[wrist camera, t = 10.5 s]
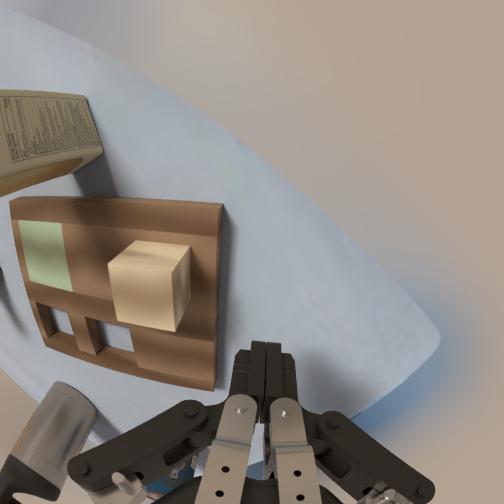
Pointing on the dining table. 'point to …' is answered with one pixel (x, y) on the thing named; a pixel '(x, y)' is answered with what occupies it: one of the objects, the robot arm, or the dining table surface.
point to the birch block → (151, 284)
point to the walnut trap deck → (99, 287)
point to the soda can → (171, 479)
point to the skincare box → (43, 137)
